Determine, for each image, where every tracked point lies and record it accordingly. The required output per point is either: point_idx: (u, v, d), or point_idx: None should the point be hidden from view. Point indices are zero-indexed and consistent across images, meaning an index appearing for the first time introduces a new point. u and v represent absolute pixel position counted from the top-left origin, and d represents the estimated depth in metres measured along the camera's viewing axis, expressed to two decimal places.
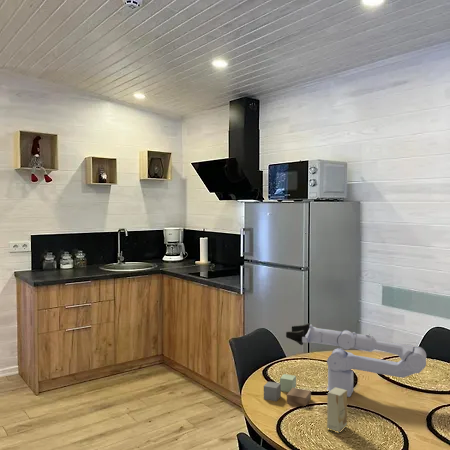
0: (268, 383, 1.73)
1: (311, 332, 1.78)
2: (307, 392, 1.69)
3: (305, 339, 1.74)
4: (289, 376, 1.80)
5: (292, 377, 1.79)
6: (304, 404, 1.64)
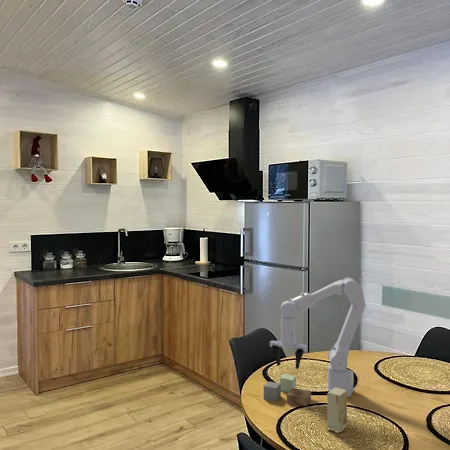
0: (268, 383, 1.73)
1: (292, 344, 1.76)
2: (308, 392, 1.68)
3: (305, 347, 1.75)
4: (289, 376, 1.80)
5: (292, 377, 1.79)
6: (304, 404, 1.64)
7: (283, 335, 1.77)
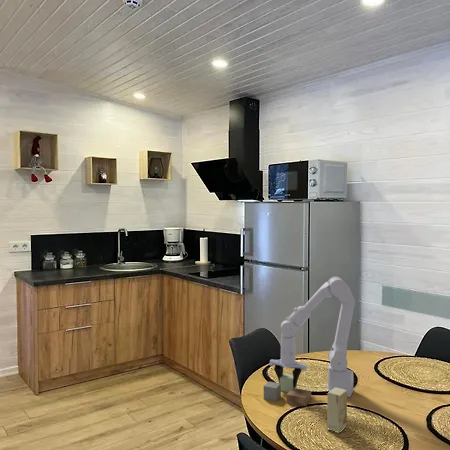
0: (268, 383, 1.73)
1: (292, 363, 1.76)
2: (308, 392, 1.68)
3: (305, 367, 1.75)
4: (289, 376, 1.80)
5: (292, 377, 1.79)
6: (303, 404, 1.64)
7: (283, 354, 1.77)
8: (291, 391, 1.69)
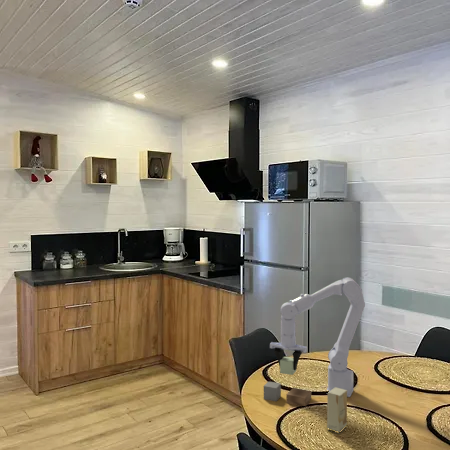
0: (268, 383, 1.73)
1: (292, 345, 1.76)
2: (308, 392, 1.68)
3: (306, 349, 1.75)
4: (289, 358, 1.79)
5: (292, 359, 1.78)
6: (303, 404, 1.64)
7: (283, 337, 1.76)
8: (291, 391, 1.69)
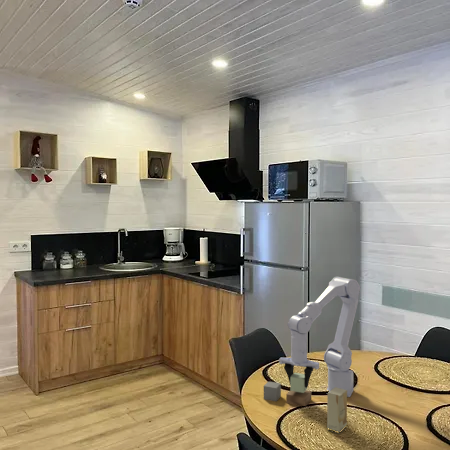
0: (268, 383, 1.73)
1: (303, 361, 1.65)
2: (308, 392, 1.68)
3: (318, 365, 1.64)
4: (300, 375, 1.68)
5: (303, 376, 1.67)
6: (303, 404, 1.64)
7: (294, 352, 1.66)
8: (291, 391, 1.69)
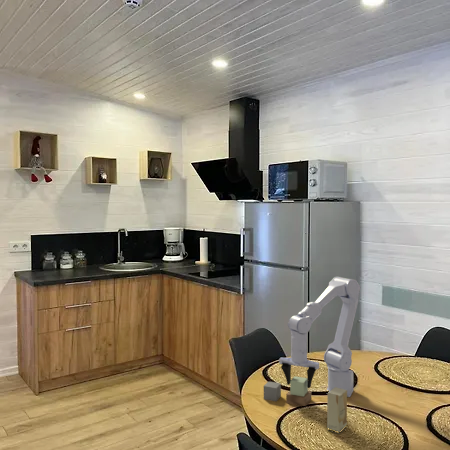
0: (268, 383, 1.73)
1: (303, 361, 1.65)
2: (308, 392, 1.68)
3: (318, 365, 1.64)
4: (300, 378, 1.68)
5: (303, 380, 1.67)
6: (303, 404, 1.64)
7: (294, 352, 1.66)
8: None
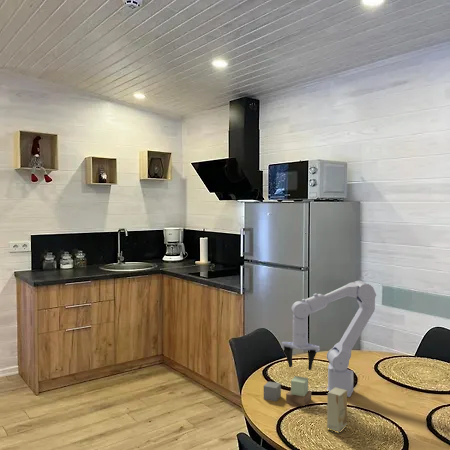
0: (268, 383, 1.73)
1: (304, 345, 1.74)
2: (308, 392, 1.68)
3: (318, 348, 1.73)
4: (301, 378, 1.68)
5: (304, 380, 1.67)
6: (303, 404, 1.64)
7: (295, 336, 1.74)
8: None
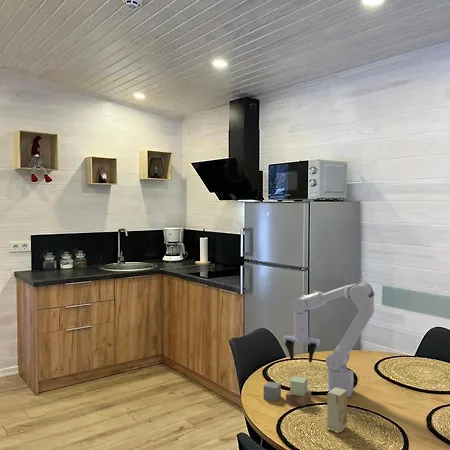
0: (268, 383, 1.73)
1: (305, 338, 1.82)
2: (307, 392, 1.68)
3: (318, 341, 1.81)
4: (300, 378, 1.69)
5: (303, 379, 1.67)
6: (302, 404, 1.64)
7: (296, 330, 1.82)
8: None
